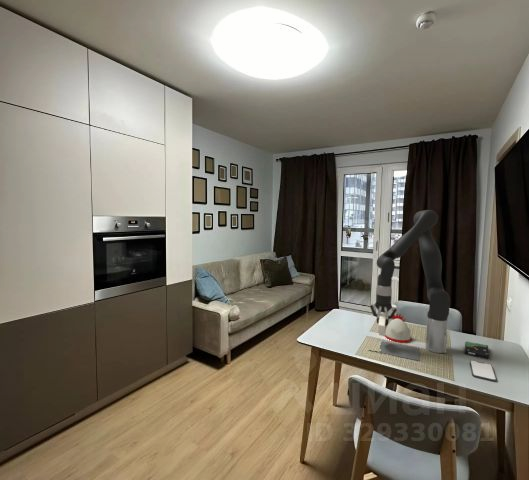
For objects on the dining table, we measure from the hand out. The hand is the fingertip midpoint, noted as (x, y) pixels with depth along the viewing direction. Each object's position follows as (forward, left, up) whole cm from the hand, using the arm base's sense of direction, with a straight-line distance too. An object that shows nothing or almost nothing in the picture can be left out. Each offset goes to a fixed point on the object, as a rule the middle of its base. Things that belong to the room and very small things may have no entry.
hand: (382, 324), depth 158 cm
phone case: (-44, +5, -13) cm, 46 cm away
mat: (-6, 0, -13) cm, 14 cm away
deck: (0, -3, -4) cm, 5 cm away
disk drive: (-45, -19, -13) cm, 51 cm away
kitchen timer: (-7, -18, -13) cm, 23 cm away
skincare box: (-1, -31, -13) cm, 33 cm away
